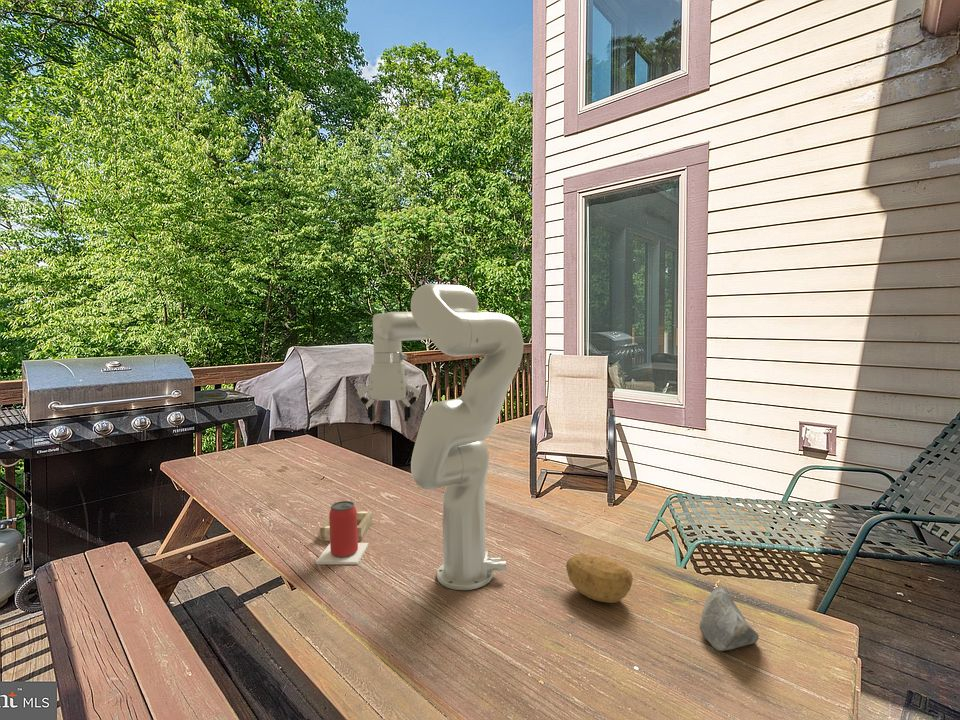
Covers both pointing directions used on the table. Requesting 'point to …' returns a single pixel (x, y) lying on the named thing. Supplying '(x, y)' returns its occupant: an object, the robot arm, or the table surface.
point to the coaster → (352, 559)
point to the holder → (363, 526)
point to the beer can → (343, 529)
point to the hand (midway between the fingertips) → (389, 420)
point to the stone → (725, 623)
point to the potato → (599, 577)
